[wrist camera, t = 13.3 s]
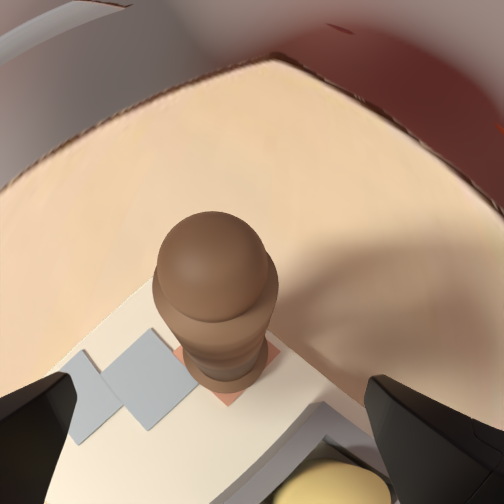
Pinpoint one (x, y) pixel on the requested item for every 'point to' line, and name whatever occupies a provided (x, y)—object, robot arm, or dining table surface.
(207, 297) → the pawn
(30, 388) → the robot arm
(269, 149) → the dining table surface
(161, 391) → the game board
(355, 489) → the dome
